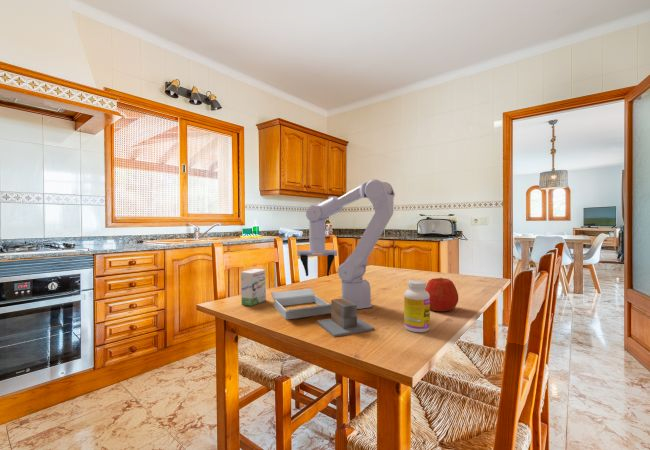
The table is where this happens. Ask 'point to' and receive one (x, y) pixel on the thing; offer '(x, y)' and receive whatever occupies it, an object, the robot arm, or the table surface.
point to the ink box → (253, 286)
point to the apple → (442, 294)
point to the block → (344, 313)
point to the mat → (339, 331)
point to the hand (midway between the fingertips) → (317, 275)
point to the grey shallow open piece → (300, 298)
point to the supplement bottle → (417, 307)
